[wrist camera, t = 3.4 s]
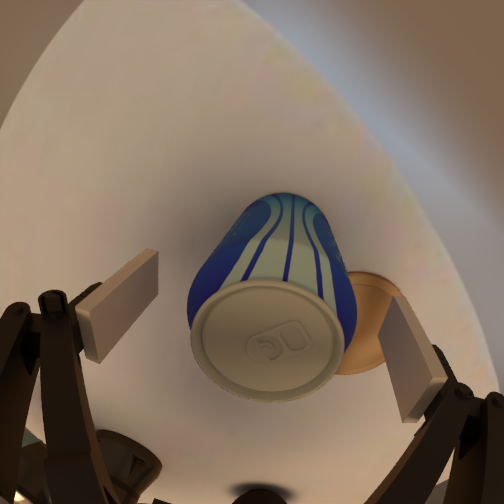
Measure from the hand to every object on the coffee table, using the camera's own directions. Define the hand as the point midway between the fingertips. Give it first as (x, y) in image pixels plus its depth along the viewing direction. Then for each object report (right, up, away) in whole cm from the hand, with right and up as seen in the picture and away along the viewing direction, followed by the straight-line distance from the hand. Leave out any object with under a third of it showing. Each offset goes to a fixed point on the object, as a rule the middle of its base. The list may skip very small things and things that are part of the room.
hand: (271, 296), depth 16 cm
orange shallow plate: (+9, -5, +13) cm, 17 cm away
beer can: (+2, +4, +11) cm, 12 cm away
